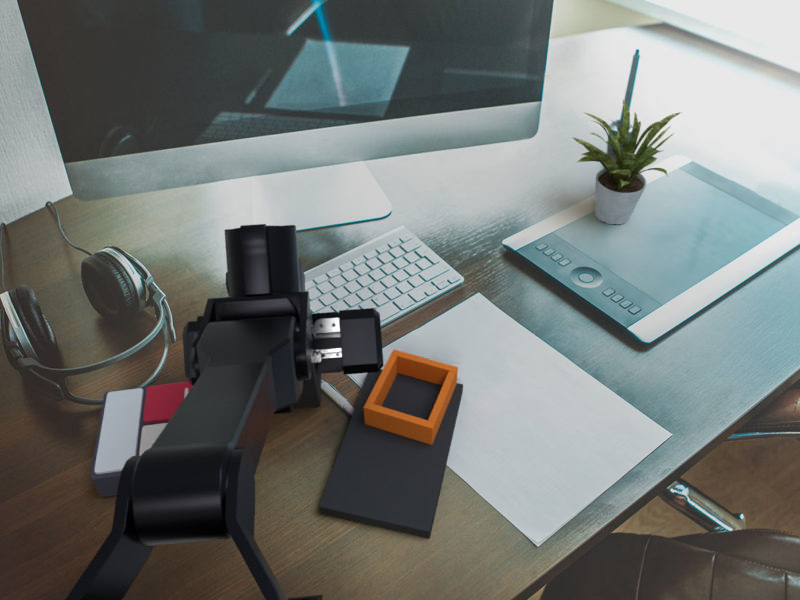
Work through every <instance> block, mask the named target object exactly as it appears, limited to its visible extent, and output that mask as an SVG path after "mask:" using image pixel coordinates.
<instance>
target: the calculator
mask: <svg viewBox="0 0 800 600" xmlns="http://www.w3.org/2000/svg"><path fill="white" fill-rule="evenodd" d="M192 387H193V386H192V385H191V384H190V383H189V382H188V381H187V380H186V381H180V382H170V383H163V384H153V385H147V386H139V387H130V388H122V389H114V390H108V391H106V392H104V394H103V398H102V403H101V404H102V405H101V409H100V416H99V421H98V422H99V423H98V428H97V433H96V440H95V444H94V450H93V456H92V462H91V468H90V475H89V478H90V481H91V482H92V484H93V486H94V489H96V492H97V493H98V495H99V496H100V497H101V498H105V497H106V498H108V497H113V496H114V497H115V496H117V490H118V484H119V480H120V475H121V471H122V469H123V467H124V465H125V463H126V461H127V460H128V459H129V458H131V457H132V456H141V455H142V454H143V453H144V452H145V451H146V450H148V449H150V448H151V446H152V445H153V443H154V442H155V440H156V439H157V438H158V436H159V435H160V433H161V432H162V430H163V429H164V427H165V426H166V425H167V423H168V422H169V420H170V419H171V417H172V416H173V414H174V413H175V412H176V410H177V409H178V407H179V406H180V404H181V403H182V401H183V400H184V398H185V397H186V396H187V394H188V393H189V391H190V390H191V388H192Z"/></svg>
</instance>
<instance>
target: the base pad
mask: <svg viewBox="0 0 800 600" xmlns="http://www.w3.org/2000/svg"><path fill="white" fill-rule="evenodd" d="M458 369H459V367H458V366H455V365H452V364H448V363H444V362H441V361H437V360H434V359H430V358H426V357H423V356H419V355H416V354H412V353H409V352H405V351H401V350H397V349H392V351H391V353H390V355H389V357H388V360H387V361H386V362H385V365H384V366H383V367H382V368H381V369H380V370H379V372H371V373H366V376H365V379H364V382H363V384H362V386H361V389H360V392H359V394H358V398H357V400H356V403H355V406H354V407H353V410H352V414H351V417H350V420H349V422H348V424H347V428H346V431H345V433H344V436H343V439H342V442H341V444H340V447H339V450H338V452H337V456H336V458H335V460H334V464H333V466H332V469H331V472H330V473H329V474H330V475H329V478H328V480H327V483H326V485H325V488H324V491H323V494H322V496H321V499H320V502H319V505H318V509H319V513H320V515H323V516H329V517H333V518H337V519H342V520H346V521H350V522H354V523H359V524H363V525H367V526H372V527H377V528H381V529H386V530H390V531H394V532H398V533H403V534H407V535H411V536H416V537H421V538H425V539H430V538H431V535H432V531H433V526H434V522H435V516H436V514H437V507H438V503H439V499H440V495H441V491H442V485H443V482H444V477H445V472H446V468H447V463H448V458H449V455H450V450H451V445H452V441H453V436H454V432H455V427H456V423H457V420H458V415H459V411H460V405H461V402H462V401H461V400H462V396H463V391H464V384H463V383H458Z"/></svg>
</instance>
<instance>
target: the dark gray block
mask: <svg viewBox="0 0 800 600" xmlns="http://www.w3.org/2000/svg"><path fill="white" fill-rule="evenodd" d="M321 390H322V374H316V369H315V364H314V363H311V379H309V380H306V381H303V390H302V393H301V395H300V397H299V399H298V401H297V402H296V403H295V404H293V405H292V410H293V409H303V408H305V409H306V408H317V407H321V396H322V395H321V394H322V393H321V392H322V391H321Z"/></svg>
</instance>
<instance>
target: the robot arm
mask: <svg viewBox="0 0 800 600" xmlns="http://www.w3.org/2000/svg"><path fill="white" fill-rule="evenodd" d="M297 235H298V233H297V225H295V224H287V225H267V224H266V223H258V224H257V223H256V224H245V225H244V224H243V225H240V227H235V228H227V229H224V242H225V243H224V244H225V245H224V246H225V257H226V258H225V259H226V273H225V287H226V291H227V295H228V296H224V297H223V296H222V297H208V298H207V300H206V303H205V308H204V312H203V315H198V316H196V320H192V321H188V322H187V323H186V324H185V326H184V327H183V330H182V347H183V360H184V361H183V363H184V375H185V379H186V382H187V381H188V382H189V383H190V384H191V385H192V386H193V387H192V388H191V390H190V391H189V393H188V394H187V396H186V397H185V398H184V400H183V401H182V403H181V404H180V406H179V407H178V409H177V410H176V412H175V413H174V414H173V416H172V417H171V419H170V420H169V422H168V423H167V425H166V426H165V427H164V429H163V430H162V432H161V433H160V435H159V436H158V438H157V439H156V440H155V442H154V443H153V445H152V446H151V448H150V449H148V450H146V451H145V452H144V453H143V454H142V455H141V456H132V457H131V458H129V459H128V460H127V461H126V463H125V465H124V467H123V469H122V471H121V475H120V480H119V484H118V490H117V495H116V498H115V506H114V511H113V518H112V526H111V530H110V533H109V534H108V535H107V537H106V538H105V540H104V541H103V543H102V544H101V546H100V547H99V549H98V550H97V551H96V554H95V555H94V556H93V557H92V559H91V560H90V562H89V563H88V565H87V566H86V568H85V569H84V571H83V572H82V574H81V576H80V577H79V579H78V580H77V581H76V583H75V585H74V586H73V587H72V589H71V590H70V591H69V592H68V593H69V594H67V596H66V597H65V599H64V600H123V599H124V597H126V595H127V593H128V591H129V590H130V588H131V587H132V585H133V583H134V582H135V580H136V579H137V577H138V575H140V572H141V571H142V569H143V568H144V566H145V564H146V563H147V562H148V561H149V558H150V557H151V554H152V551H153V548H154V546H162V545H163V546H165V545H173V544H183V543H184V544H185V543H195V542H208V541H215V540H216V541H217V540H218V541H219V540H227V539H228V540H229V539H232V540H233V542H234V545H235V546H236V548H237V550H238V551H239V553H240V555H241V556H242V559H243V560H244V562H245V564H246V566H247V568H248V570H249V571H250V573H251V576H252V577H253V579H254V581H255V583H256V584H257V587H258V588H259V590H260V592H261V594H262V596H263V597H264V600H323V598H324V597H323V594H316V595H307V596H306V595H305V596H296V597H287V595H286V593H285V591H284V590H283V587H282V586H281V584H280V582H279V581H278V578H277V576H276V575H275V574H274V572H273V570H272V568H271V566H270V564H269V563H268V561H267V559H266V557H265V556H264V554H263V552H262V550H261V548H260V547H259V545H258V543H257V541H256V540H255V519H256V518H255V517H256V480H255V475H256V471H257V469H258V465H259V463H260V459H261V455H262V454H263V453H262V452H263V450H264V446H265V442H266V440H267V436H268V433H269V430H270V427H271V423H272V420H273V417H274V415H282V414H283V415H284V414H291V413H292V412H293V409H292V405H293V404H295V403H296V402H297V401H298V399H299V397H300V395H301V393H302V390H303V381H306V380H309V379H311V363H314V364H315V369H316V374H321V375H322V374H334V373H341V372H342V373H343V376H346V375H357V374H367V373H371V372H379V370H380V369H383V368H384V354H383V353H384V352H383V351H384V350H383V337H382V327H381V326H382V325H381V314H380V312H379V311H378V310H377V309H375V308H374V307H368V308H354V309H353V308H352V309H343V310H342V309H341V310H338V312H337V311H327V312H314V313H313V312H312V311H311V303H310V292H309V290H306V276H305V271H304V267H303V264H302V261H301V259H300V258H299V249H298V236H297Z"/></svg>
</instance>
